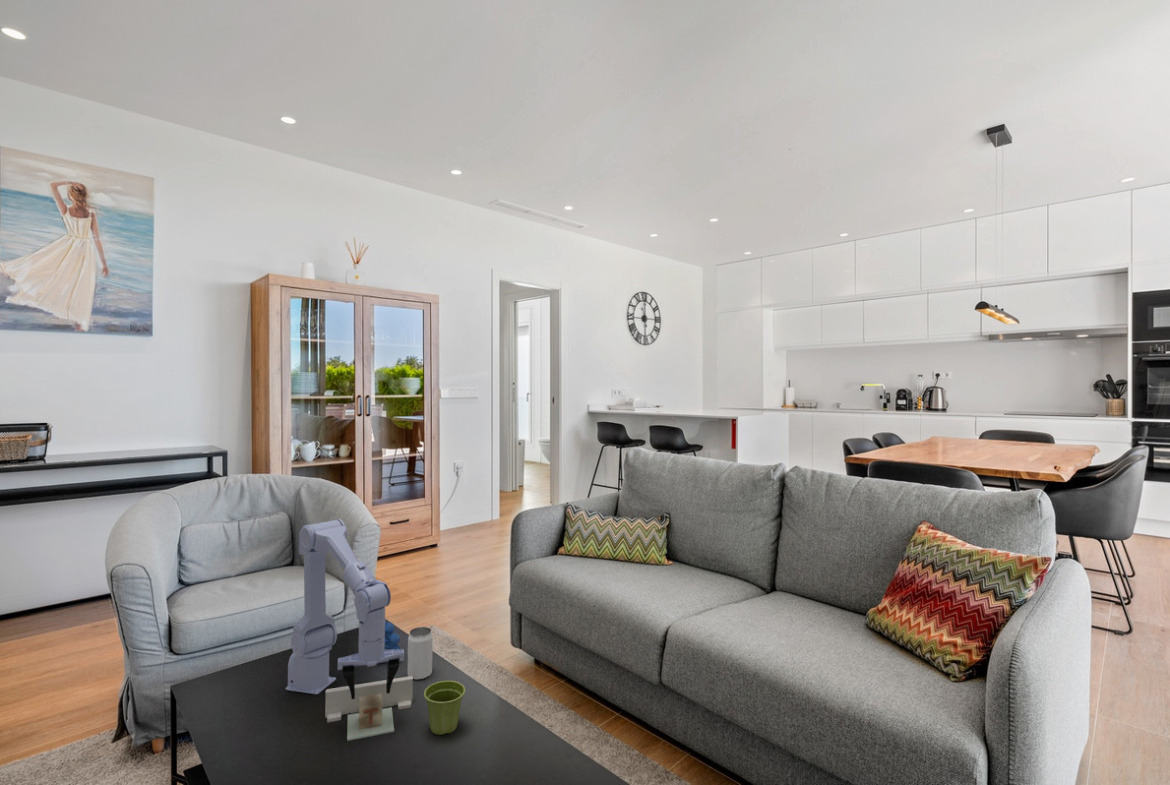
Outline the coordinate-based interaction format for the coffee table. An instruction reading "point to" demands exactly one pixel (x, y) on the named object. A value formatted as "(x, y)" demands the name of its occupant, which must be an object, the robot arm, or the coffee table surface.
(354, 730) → the sage mat
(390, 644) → the grapes
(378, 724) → the maple cube
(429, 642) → the can
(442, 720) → the plant pot
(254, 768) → the coffee table surface
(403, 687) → the grey screen
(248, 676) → the coffee table surface
